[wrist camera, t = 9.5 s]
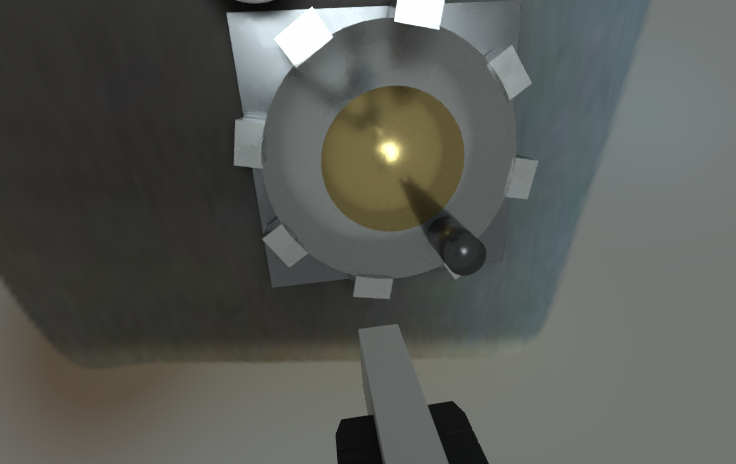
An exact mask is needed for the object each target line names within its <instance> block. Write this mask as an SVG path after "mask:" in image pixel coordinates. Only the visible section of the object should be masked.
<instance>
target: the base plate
mask: <svg viewBox="0 0 736 464" xmlns="http://www.w3.org/2000/svg"><path fill="white" fill-rule="evenodd" d="M389 7H390V6H375V7H351V8H328V9H314V10H315V12H316V13H317V15H318V16H319V18H320V19H321V20H322V22H323V23H324V25H325V26H326V28H327V29H328V31H329V32H330V33H331V34H333V33H335V32H337V31H339V30H341V29H342V28H345V27H347V26H350V25H353V24H356V23H359V22H362V21H367V20H373V19H378V18H388V14H389ZM308 10H309V9H304V10H280V11H256V12H233V13H227V19H228V25H229V31H230V37H231V43H232V50H233V56H234V62H235V68H236V74H237V80H238V86H239V92H240V98H241V104H242V110H243V116H244V117H246V118H254V119H261V120H266V117H267V113H268V110H269V107H270V105H271V102H272V100H273V98H274V95H275V93H276V91H277V89H278V88H279V86H280V84H281V83H282V81H283V79H284V77H285V76H286V75H287V73H288V72H289V71H290V70H291V68H292V67H293V66H294V64H293V63H292V62H291V60H290V59H289V58H288V56H287V55H286V54H285V52H284V51H283V50H282V48H281V47H280V46H279V44H278V43H277V42H276V40H275V39H274V38H276V37H277V36H278V35H279V34H280V33H281V32H283V31H284V30H285V29H286V28H287V27H289V26H290V25H291V24H292V23H293V22H295V21H296V20H297V19H298V18H299V17H300V16H302V15H303V14H304V13H305V12H306V11H308ZM520 10H521V0H517V1H494V2H470V3H446V4H444V6H443V12H442V17H441V23H440V26H441V27H443V28H445V29H447V30H450V31H452V32H453V33H455V34H457V35H458V36H460V37H461V38H463V39H464V40H466V41H467V42H469V43H470V44H471V45H472V46H473V47H474V48H476V49H477V50H478V51H479V52H480V53H481V54H482V55H483V56H486V55H487V54H488V53H490V52H491V51H492V50H493V49H496V48H501V47H505V46H510V45H512V46H513V48H514V50H515V52H516V53H517V54H518V39H519V25H520ZM510 103H511V106H512V110H513V112H514V97H513V98H512V99H511V100H510ZM252 170H253V176H254V182H255V188H256V194H257V200H258V206H259V212H260V218H261V224H262V231H263V235H264V232H265V229H266V226H268V225H269V224H270V223H272V222H273V221H274V220H275V219H277V218H278V217H277V215H276V213H275V211H274V209H273V207H272V204H271V202H270V200H269V197H268V194H267V190H266V187H265V183H264V178H263V171H262V168H253V167H252ZM507 198H508V197H505V199H504V201H503V203H502V205H501V207H500V209H499V210H498V212H497V214H496V215H495V217H494V219H493V220H492V222H491V223H490V224H489V225H488V227H487V228H486V229H485V231H484V232H483V233H482V234H481V235H480V236H479V237H478V239H479V240H480V241H481V242H482V243H483V244H484V246H485V248H486V259H485V262H484V263H489V262H497V261H503V256H504V242H505V227H506V213H507ZM264 243H265V242H264ZM265 249H266V255H267V261H268V267H269V273H270V279H271V285H272V288H274V287H283V286H292V285H300V284H309V283H317V282H326V281H334V280H343V279H350V277H351V274H347V273H344V272H342V271H339V270H337V269H334V268H332V267H330V266H328V265H326V264H324V263H323V262H321V261H319V260H317V259H316V258H315V257H313V256H312V255H310V254H309V253H308V254H307V255H305V256H304V257H303V258H301V259H300V260H299V261H297V262H296V263H295V264H293V265H292V266H291V267H290V268H289V267H288V266H287V265H286V264H285V263H284V262H283V261H282V259H281V258H280V257H279V256H278V255H277V254H276V253H275V252H274V251H273V250H272V249H271V248H270V247H269V246H268V245H267V244H266V243H265ZM437 268H446V267H445V265H444V264H442V265H440V266H438V267H436V268H434V269H437Z"/></svg>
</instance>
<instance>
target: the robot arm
mask: <svg viewBox="0 0 736 464" xmlns="http://www.w3.org/2000/svg"><path fill="white" fill-rule="evenodd" d="M359 341H360V354H361V365H362V377H363V388H364V394H365V400H366V405H367V411H368V415H367V416H361V417H355V418H348V419H342V420H341V422H340V424H339V427H338V430H337V432H336V446H337V461H338V464H489V463H488V461H487V459H486V457H485V455H484V453H483V450H482V448H481V446H480V444H479V443H478V440H477V438H476V436H475V434H474V432H473V431H472V427H471V425H470V423H469V421H468V419H467V416H466V414H465V413H464V412H463V411H462V410H461V409H460V408H459V407H458V406H457V405H456V404H455V403H454V402H453V401H450V402H443V403H437V404H431V405H427V403H426V400H425V398H424V395H423V392H422V389H421V386H420V384H419V381H418V378H417V375H416V373H415V370H414V368H413V364H412V362H411V359H410V356H409V354H408V351H407V348H406V345H405V343H404V340H403V337H402V334H401V332H400V329H399V326H398V324H394V325H386V326H379V327H371V328H364V329H359Z"/></svg>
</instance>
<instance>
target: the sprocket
mask: <svg viewBox="0 0 736 464" xmlns="http://www.w3.org/2000/svg"><path fill="white" fill-rule="evenodd" d="M444 1H445V0H390V7H389V14H388V18H378V19H373V20H367V21H362V22H359V23H356V24H353V25H350V26H347V27H345V28H342V29H341V30H339V31H337V32H335V33H333V34H331V33H330V32H329V31H328V29H327V28H326V26H325V25H324V23H323V22H322V20H321V19H320V18H319V16H318V15H317V13H316V12H315V10H314V9H313V7H311V8H310V9H309V10H308V11H306V12H305V13H304V14H303V15H302V16H300V17H299V18H298V19H297V20H296V21H295V22H293V23H292V24H291V25H290V26H289V27H287V28H286V29H285V30H284V31H283V32H281V33H280V34H279V35H278V36H277V37H276V38H274V39H275V40H276V42H277V43H278V44H279V46H280V47H281V48H282V50H283V51H284V52H285V54H286V55H287V56H288V58H289V59H290V60H291V62H292V63H293V64H294V66H293V67H292V68H291V70H290V71H289V72H288V73H287V75H286V76H285V77H284V79H283V81H282V83H281V84H280V86H279V88H278V89H277V91H276V93H275V95H274V98H273V100H272V102H271V105H270V107H269V110H268V113H267V117H266V120H261V119H254V118H246V117H241V118H239V119H236V120H235V146H234V165H236V166H244V167H253V168H262V171H263V178H264V183H265V187H266V190H267V194H268V197H269V200H270V202H271V204H272V207H273V209H274V211H275V213H276V215H277V217H278V218H277V219H275V220H274V221H273V222H272V223H270V224H269V225H268V226H266V229H265V232H264V235H263V238H262V240H263V241H264V242H265V243H266V244H267V245H268V246H269V247H270V248H271V249H272V250H273V251H274V252H275V253H276V254H277V255H278V256H279V257H280V258H281V259H282V261H283V262H284V263H285V264H286V265H287V266H288V267H289V268H290V267H291V266H292V265H293V264H295V263H296V262H297V261H299V260H300V259H301V258H303V257H304V256H305V255H307V254H308V253H309V254H310V255H312V256H313V257H315V258H316V259H317V260H319V261H321V262H323V263H324V264H326V265H328V266H330V267H332V268H334V269H337V270H339V271H342V272H344V273H347V274H351V277H350V284H351V289H352V294H353V297H365V298H381V299H390V294H391V289H392V283H393V278H402V277H408V276H412V275H416V274H420V273H423V272H426V271H429V270H431V269H434V268H436V267H438V266H440V265H442V264H444V265H445V267H446V268H447V269H448V271H449V272H450V273H451V275H452V276H453V277H454V279H455V280H456V279H457V278H459V277H460V276H461V275H462V276H465V275H470V274H473V273H475V272H476V271H478V270H479V269H480V268H481V267H482V265H483V264H484V262H485V259H486V248H485V246H484V244H483V243H482V242H481V241H480V240H479V239H478V237H479V236H480V235H481V234H482V233H483V232H484V231H485V229H486V228H487V227H488V225H489V224H490V223H491V222H492V220H493V219H494V217H495V215H496V214H497V212H498V210H499V209H500V207H501V205H502V203H503V201H504V199H505V197H512V198H521V199H528V195H529V192H530V188H531V185H532V181H533V178H534V175H535V171H536V168H537V164H538V161H537V160H534V159H531V158H528V157H525V156H521V155H516V149H517V138H516V125H515V119H514V113H513V110H512V106H511V103H510V100H511V99H512V98H513V97H515V96H516V95H517V94H519V93H520V92H521V91H522V90H524V89H525V88H526V87H528V86H529V85H530V84H532V83H531V81H530V79H529V77H528V75H527V73H526V71H525V69H524V67H523V65H522V63H521V61H520V59H519V57H518V55H517V53H516V52H515V50H514V48H513V46H512V45H510V46H505V47H501V48H496V49H493V50H492V51H491V52H490V53H488V54H487V55H486V56H483V55H482V54H481V53H480V52H479V51H478V50H477V49H476V48H474V47H473V46H472V45H471V44H470V43H469V42H467V41H466V40H464V39H463V38H461V37H460V36H458V35H457V34H455V33H453V32H452V31H450V30H447V29H445V28H443V27H441V26H440V23H441V17H442V12H443V6H444Z"/></svg>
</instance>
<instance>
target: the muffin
mask: <svg viewBox="0 0 736 464" xmlns="http://www.w3.org/2000/svg"><path fill="white" fill-rule="evenodd" d="M237 1H241V2H246V3H264V2H269V1H272V0H237Z"/></svg>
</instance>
